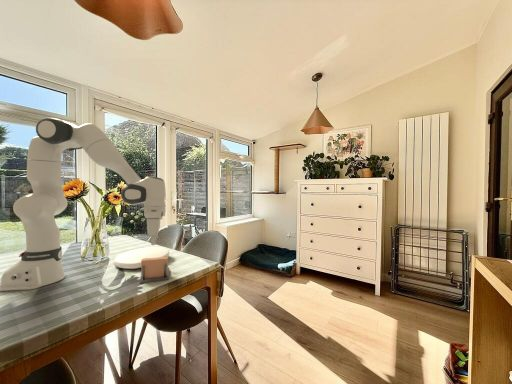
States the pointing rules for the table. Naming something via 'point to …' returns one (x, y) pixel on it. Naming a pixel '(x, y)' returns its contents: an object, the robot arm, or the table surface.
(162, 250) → the plate
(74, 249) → the table surface
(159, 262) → the tile
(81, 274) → the table surface
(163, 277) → the rack
